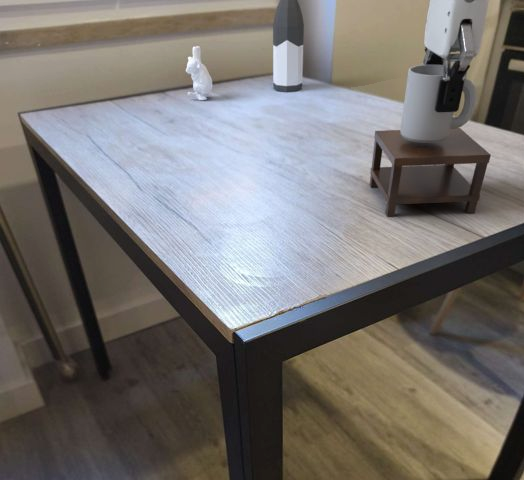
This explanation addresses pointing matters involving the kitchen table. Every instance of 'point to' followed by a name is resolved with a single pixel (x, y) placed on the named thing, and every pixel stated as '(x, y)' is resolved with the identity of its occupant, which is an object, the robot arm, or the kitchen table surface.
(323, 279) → the kitchen table surface
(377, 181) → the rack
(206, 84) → the white upright figurine
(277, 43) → the wine bottle
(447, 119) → the cup
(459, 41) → the robot arm
